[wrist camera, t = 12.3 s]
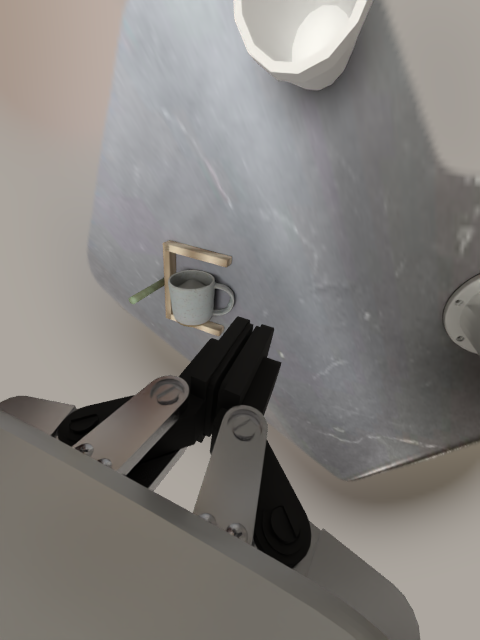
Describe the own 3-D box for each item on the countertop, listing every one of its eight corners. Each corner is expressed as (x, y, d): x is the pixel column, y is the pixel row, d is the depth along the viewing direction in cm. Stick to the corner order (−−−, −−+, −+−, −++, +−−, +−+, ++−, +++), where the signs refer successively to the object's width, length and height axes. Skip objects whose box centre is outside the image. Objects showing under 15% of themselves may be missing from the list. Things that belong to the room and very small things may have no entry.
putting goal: (232, 256, 41) (203, 277, 33) (223, 331, 50) (198, 361, 42) (163, 238, 44) (122, 254, 36) (166, 311, 53) (133, 336, 45)
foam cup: (269, 103, 30) (225, 68, 19) (287, -18, 25) (240, -154, 14) (351, 111, 28) (350, 77, 17) (389, -20, 22) (421, -183, 12)
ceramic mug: (186, 305, 50) (163, 324, 44) (183, 266, 46) (158, 281, 40) (235, 317, 47) (219, 339, 41) (237, 277, 43) (219, 295, 37)
